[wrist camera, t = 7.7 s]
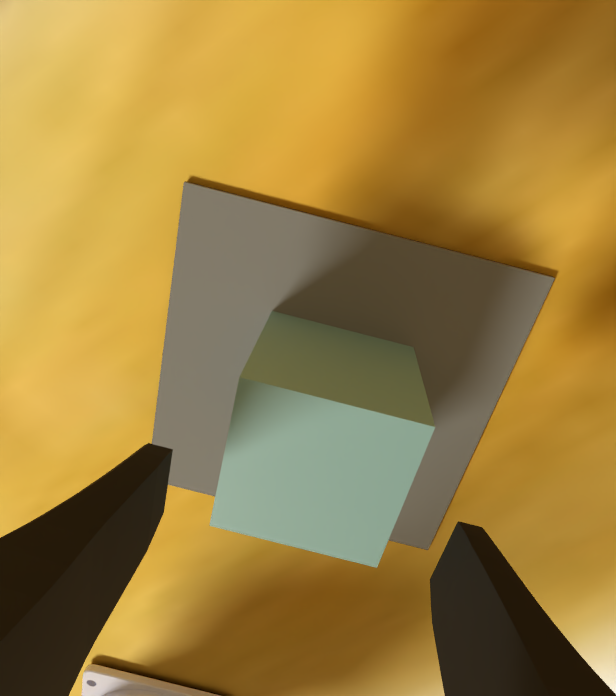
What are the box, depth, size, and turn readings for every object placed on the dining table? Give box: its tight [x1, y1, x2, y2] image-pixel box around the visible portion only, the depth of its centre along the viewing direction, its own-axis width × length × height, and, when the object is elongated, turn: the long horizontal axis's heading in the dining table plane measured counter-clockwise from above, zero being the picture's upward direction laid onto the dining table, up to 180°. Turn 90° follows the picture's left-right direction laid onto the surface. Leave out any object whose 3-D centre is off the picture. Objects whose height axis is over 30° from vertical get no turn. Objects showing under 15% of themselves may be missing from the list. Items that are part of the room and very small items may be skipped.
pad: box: [152, 182, 555, 550], centre depth 18 cm, size 12×12×1 cm
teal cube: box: [210, 311, 435, 568], centre depth 15 cm, size 5×5×5 cm
